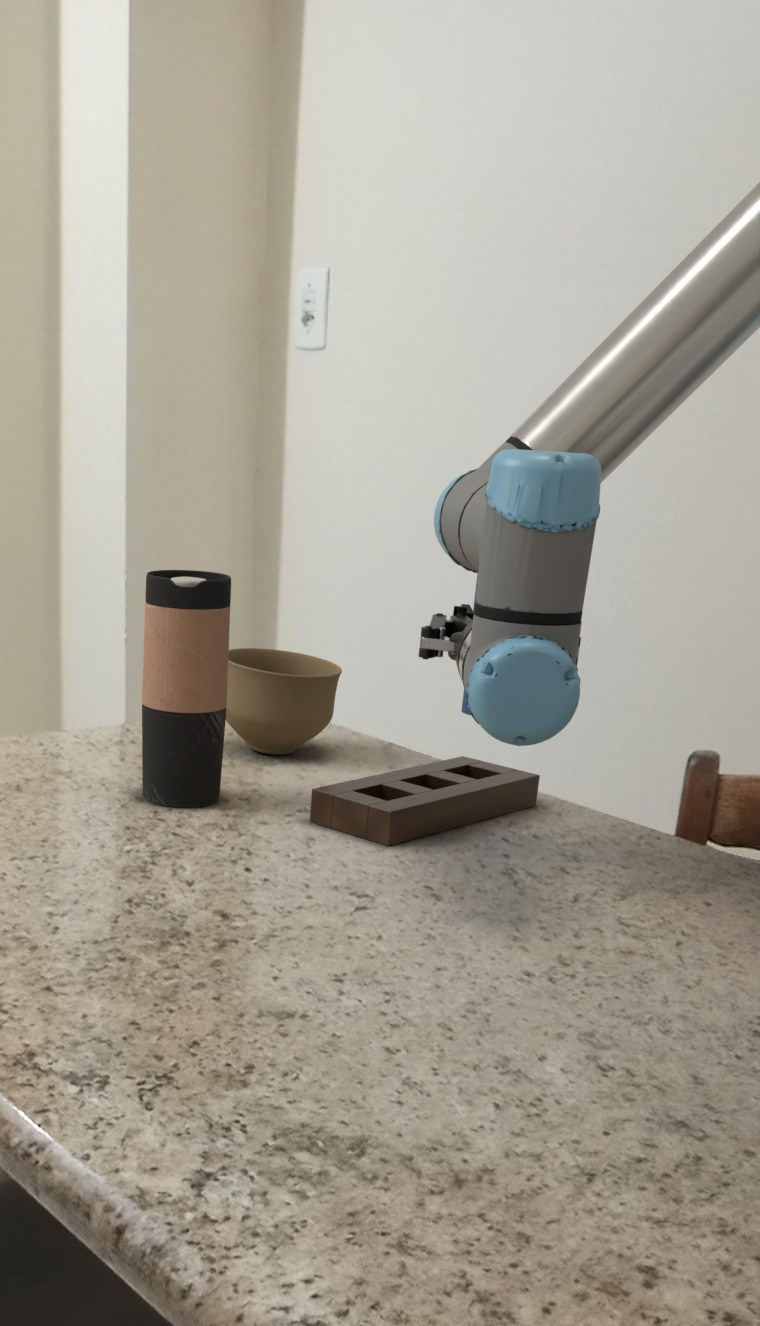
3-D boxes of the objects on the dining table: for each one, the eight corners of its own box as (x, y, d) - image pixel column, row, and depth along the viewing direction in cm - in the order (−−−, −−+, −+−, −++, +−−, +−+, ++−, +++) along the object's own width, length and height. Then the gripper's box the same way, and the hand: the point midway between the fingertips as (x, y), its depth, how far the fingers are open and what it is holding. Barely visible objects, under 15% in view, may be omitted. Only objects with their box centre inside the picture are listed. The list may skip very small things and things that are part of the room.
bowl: (314, 771, 139) (322, 672, 135) (198, 755, 143) (202, 658, 139) (349, 747, 150) (356, 654, 146) (240, 733, 154) (244, 642, 150)
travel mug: (184, 782, 132) (192, 568, 125) (239, 800, 127) (250, 577, 120) (122, 794, 127) (127, 571, 120) (176, 813, 122) (184, 582, 115)
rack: (536, 805, 130) (540, 775, 129) (388, 846, 116) (391, 811, 115) (459, 785, 136) (462, 756, 135) (309, 821, 122) (311, 788, 121)
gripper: (397, 701, 110) (394, 654, 131) (604, 715, 108) (566, 666, 130) (407, 605, 107) (401, 573, 129) (619, 618, 106) (577, 584, 127)
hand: (484, 620), depth 129 cm, fingers closed on peg, 3 cm apart
